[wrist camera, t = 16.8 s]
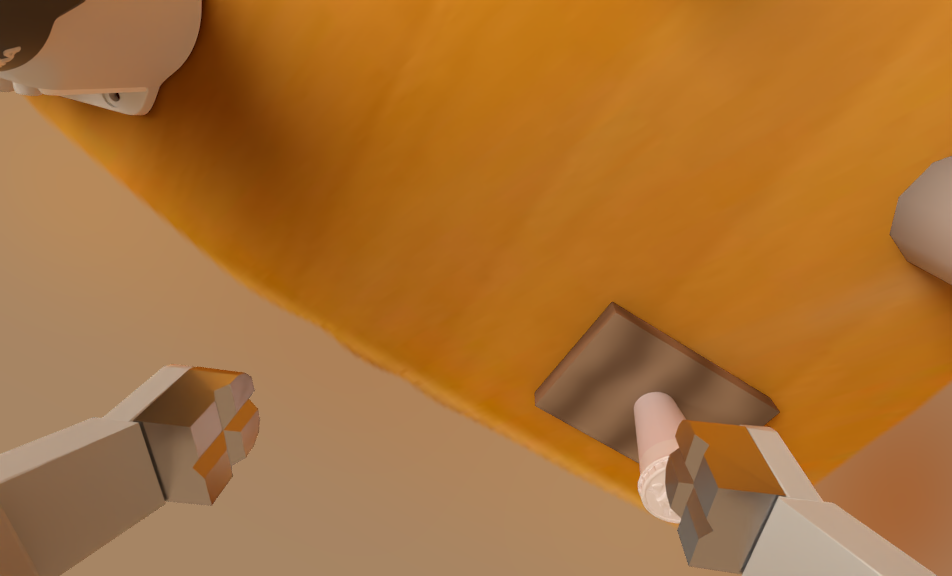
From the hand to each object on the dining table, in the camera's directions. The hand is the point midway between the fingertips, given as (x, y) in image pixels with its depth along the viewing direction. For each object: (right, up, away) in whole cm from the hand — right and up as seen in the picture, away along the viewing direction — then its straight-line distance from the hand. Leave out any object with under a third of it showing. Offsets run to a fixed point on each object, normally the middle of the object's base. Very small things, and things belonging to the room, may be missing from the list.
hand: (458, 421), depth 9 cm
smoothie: (+17, -8, +35) cm, 40 cm away
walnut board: (+17, -8, +36) cm, 41 cm away
